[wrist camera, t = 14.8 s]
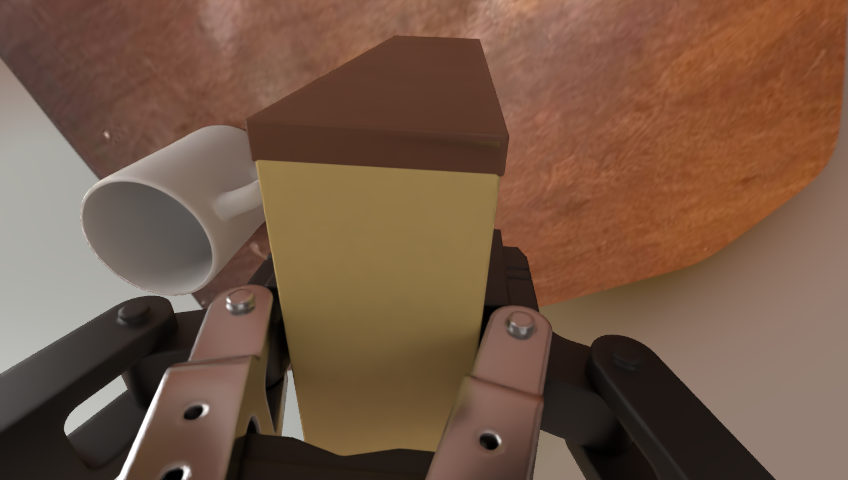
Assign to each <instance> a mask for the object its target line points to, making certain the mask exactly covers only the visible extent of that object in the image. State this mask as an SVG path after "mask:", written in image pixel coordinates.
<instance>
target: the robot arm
mask: <svg viewBox="0 0 848 480" xmlns="http://www.w3.org/2000/svg"><path fill="white" fill-rule="evenodd" d="M531 279H532V278H531V273H530V271H529V264H528V260H527V257H526V256H525V255H524V254H523V253H522V252H521V251H520V250H519V248H518V247H506V246H503V244H502V237H501V231H500V229H494V230H493V238H492V246H491V254H490V261H489V269H488V277H487V285H486V292H485V300H484V308H483V315H482V323H481V331H480V339H479V346H478V352H477V355H476V358H475V361H474V364H473V366H472V369H471V372H470V374H465V375H464V377H463V379H462V382H461V384H460V387H459V390H458V393H457V395H456V398H455V401H454V403H453V406H452V409H451V411H450V414H449V417H448V419H447V422H446V425H445V428H444V430H443V433H442V436H441V438H440V441H439V444H438V446H437V449H436V452H433V451H423V450H413V449H403V448H397V449H390V450H383V451H376V452H369V453H362V454H355V455H348V456H342V455H337V454H335V453H332V452H330V451H327V450H324V449H322V448H319V447H317V446H314V445H311V444H309V443H306V442H304V441H301V440H298V439H295V438H293V437H284V436H282V427H283V418H284V410H285V401H286V392H287V383H288V377H287V371H286V370H287V368H288V366H289V364H290V362H291V361H290V356H289V350H288V344H287V338H286V333H285V327H284V321H283V316H282V310H281V304H280V299H279V293H278V287H277V281H276V276H275V270H274V264H273V259H272V253H270V254H269V255H268V257H267V260H265V261H264V262H263V263H262V265H261V266H260V267H259V269H258V270H257V271H256V273H255V274H254V275H253V277H252V278H251V279H250V281H249V282H248V283H247V285H240V286H236V287H232V288H230V289H227V290H225V291H223V292H221V293H220V294H218V295H217V296H216V297H215V298H214V299H213V300H212V301H211V303H210V305H209V307H208V309H202V310H195V311H188V312H180V313H174V311H173V308H172V305H171V303H170V301H169V300H168V299H166V298H164V297H160V296H143V297H138V298H134V299H130V300H127V301H125V302H122V303H120V304H119V305H116V306H115V307H113V308H111V309H109V310H108V311H106V312H104V313H103V314H101V315H99V316H98V317H96V318H94V319H93V320H91V321H89V322H87V323H86V324H84V325H82V326H81V327H79V328H77V329H76V330H74V331H72V332H70V333H69V334H67V335H66V336H64V337H62V338H60V339H59V340H57V341H55V342H54V343H52V344H50V345H48V346H47V347H45V348H44V349H42V350H40V351H38V352H37V353H35V354H33V355H32V356H30V357H28V358H27V359H25V360H23V361H21V362H20V363H18V364H16V365H15V366H13V367H11V368H9V369H8V370H6V371H4V372H3V373H1V374H0V480H114V479H115V478H116V477H117V476H119V475H120V476H119V479H118V480H533V473H534V467H535V460H536V452H537V446H538V440H539V433H540V430H543V431H545V432H548V433H550V434H553V435H555V436H558V437H560V438H563V439H565V442H566V444H567V447H568V449H569V450H570V452H571V454H572V456H573V457H574V459H575V461H576V463H577V464H578V466H579V468H580V470H581V471H582V473H583V475H584V477H585V478H586V480H776V479H775V478H774V477H773V476H772V475H771V474H770V473H769V472H768V471H767V470H766V469H765V468H764V467H763V466H762V465H761V464H760V463H759V462H758V461H757V460H756V459H755V458H754V456H753V455H752V454H751V453H750V452H749V451H748V450H747V449H746V448H745V447H744V446H743V445H742V444H741V443H740V442H739V441H738V440H737V439H736V438H735V437H734V436H733V434H731V432H730V431H729V430H728V429H727V428H726V427H725V426H724V425H723V424H722V423H721V422H720V421H719V420H718V419H717V418H716V417H715V416H714V415H713V414H712V413H711V411H710V410H709V409H708V408H707V407H706V406H705V405H704V404H703V403H702V402H701V401H700V400H699V399H698V398H697V397H696V396H695V395H694V394H693V393H692V392H691V390H690V389H689V388H688V387H687V386H686V385H685V384H684V383H683V382H682V381H681V380H680V379H679V378H678V377H677V376H676V375H675V374H674V373H673V372H672V371H671V370H670V369H669V367H668V366H667V365H666V364H665V363H664V362H663V361H662V360H661V359H660V358H659V357H658V356H657V355H656V354H655V353H654V352H653V351H652V350H651V349H650V348H648V347H647V346H645V345H644V344H642V343H640V342H639V341H636V340H634V339H632V338H629V337H625V336H620V335H604V336H601V337H599V338H597V339H596V340H594V342H593V343H592V345H591V347H589V346H586V345H583V344H580V343H576V342H573V341H570V340H567V339H565V338H563V337H561V336H559V335H557V334H556V333H554V332H553V331H552V327H551V324H550V322H549V321H548V320H547V319H546V318H545V317H544V316H543V315H542V314H540V313H539V308H538V304H537V299H536V295H535V291H534V286H533V282H532V280H531ZM120 375H122V378H123V380H124V382H125V384H126V386H127V389H128V390H126V391H125V392H124V393H122V394H121V395H120V396H118V397H117V398H116V399H115V400H113V401H112V402H111V403H109V404H108V405H107V406H105V407H104V408H103V409H101V410H100V411H99V412H98V413H96V414H95V415H94V416H92V417H91V418H90V419H89V420H87V421H86V422H85V423H83V424H82V425H81V426H79V427H78V428H77V429H76V430H74V431H73V432H72V433H70V434H69V435H68V436H66V434H65V432H64V424H65V421H66V419H67V417H68V416H69V414H70V413H71V412H72V411H73V410H74V409H75V408H76V407H77V406H78V405H80V404H81V403H83V402H84V401H85V400H87V399H88V398H89V397H91V396H92V395H93V394H95V393H96V392H98V391H99V390H100V389H102V388H103V387H104V386H106V385H107V384H109V383H110V382H111V381H113V380H114V379H115V378H117V377H118V376H120Z"/></svg>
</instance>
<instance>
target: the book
mask: <svg viewBox="0 0 848 480" xmlns="http://www.w3.org/2000/svg"><path fill="white" fill-rule="evenodd" d="M245 126H246V132H247V137H248V143H249V148H250V154H251V159H252V161H254V162H256V167H257V173H258V179H259V185H260V190H261V196H262V202H263V207H264V213H265V219H266V224H267V230H268V236H269V242H270V247H271V253H272V259H273V264H274V270H275V276H276V281H277V287H278V293H279V299H280V304H281V310H282V316H283V321H284V327H285V333H286V338H287V344H288V350H289V356H290V361H291V367H292V373H293V378H294V384H295V390H296V396H297V401H298V407H299V413H300V418H301V424H302V430H303V435H304V441H305V442H306V443H309V444H311V445H314V446H317V447H319V448H322V449H324V450H327V451H330V452H332V453H335V454H337V455H342V456H348V455H355V454H362V453H369V452H376V451H383V450H390V449H397V448H403V449H413V450H423V451H433V452H436V449H437V446H438V444H439V441H440V438H441V436H442V433H443V430H444V428H445V425H446V422H447V419H448V417H449V414H450V411H451V409H452V406H453V403H454V401H455V398H456V395H457V393H458V390H459V387H460V384H461V382H462V379H463V377H464V375H465V374H470V372H471V369H472V366H473V364H474V361H475V358H476V355H477V352H478V346H479V339H480V331H481V323H482V315H483V308H484V300H485V292H486V285H487V277H488V269H489V261H490V254H491V246H492V238H493V230H494V223H495V215H496V207H497V200H498V192H499V184H500V177H501V176H503V175H504V172H505V164H506V157H507V149H508V142H509V134H508V131H507V127H506V124H505V121H504V118H503V114H502V111H501V108H500V105H499V101H498V98H497V95H496V91H495V88H494V85H493V82H492V78H491V75H490V72H489V68H488V65H487V62H486V59H485V55H484V52H483V49H482V46H481V42H480V39H464V38H441V37H417V36H393V37H392V38H390V39H388V40H386V41H385V42H383V43H381V44H379V45H377V46H376V47H374V48H372V49H370V50H369V51H367V52H365V53H363V54H361V55H360V56H358V57H356V58H354V59H352V60H351V61H349V62H347V63H345V64H344V65H342V66H340V67H338V68H336V69H335V70H333V71H331V72H329V73H328V74H326V75H324V76H322V77H320V78H319V79H317V80H315V81H313V82H311V83H310V84H308V85H306V86H304V87H303V88H301V89H299V90H297V91H295V92H294V93H292V94H290V95H288V96H287V97H285V98H283V99H281V100H279V101H278V102H276V103H274V104H272V105H271V106H269V107H267V108H265V109H263V110H262V111H260V112H258V113H256V114H254V115H253V116H251V117H249V118H247V119H246V120H245Z"/></svg>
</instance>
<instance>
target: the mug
mask: <svg viewBox="0 0 848 480" xmlns="http://www.w3.org/2000/svg"><path fill="white" fill-rule="evenodd" d="M80 221H81V226H82V230H83V233H84V236H85V238H86V240H87V242H88V244H89V246H90V247H91V249H92V251H93V252H94V253H95V254H96V256H97V257H98V258H99V259H100V261H101V262H102V263H103V264H104V265H105V266H106V267H107V268H108V269H110V270H111V271H112V272H113V273H114V274H116V275H117V276H118V277H120V278H121V279H123V280H124V281H126V282H128V283H130V284H132V285H133V286H136V287H138V288H140V289H142V290H146V291H148V292H152V293H156V294H161V295H171V296H172V295H173V296H177V295H185V294H190V293H193V292H195V291H197V290H199V289H201V288H203V287H204V286H205V285H207V284H208V283H209V282H210V281H211V280H212V279H213V278H214V277H215V276H216V275H217V274H218V273H219V271H220V270H221V269H222V268H223V267H224V266H225V265H226V264H227V262H228V261H229V260H230V259H231V258H232V257H233V256H234V255H235V253H236V252H237V251H238V250H239V249H240V248H241V247H242V246H243V244H244V243H245V242H246V241H247V240H248V239H249V238H250V237H251V236H252V234H253V233H254V232H255V231H256V230H257V229H258V228H259V227H260V226H261V225H262V224H263V223H264V222H265V221H266V219H265V213H264V207H263V202H262V196H261V190H260V185H259V179H258V173H257V167H256V162H254V161H252V159H251V154H250V148H249V143H248V137H247V132H246V131H244V130H241V129H239V128H236V127H232V126H226V125H213V126H207V127H204V128H201V129H199V130H197V131H195V132H193V133H191V134H189V135H187V136H185V137H184V138H182V139H180V140H178V141H177V142H175V143H173V144H171V145H169V146H167V147H165V148H163V149H161V150H159V151H157V152H155V153H153V154H151V155H149V156H147V157H145V158H143V159H141V160H139V161H137V162H135V163H133V164H131V165H130V166H128V167H126V168H124V169H122V170H120V171H118V172H116V173H114V174H112V175H110V176H108V177H106V178H104V179H102V180H100V181H99V182H98V183H96V184H95V185H94V186H92V187H91V188H90V190H89V191H88V192H87V193H86V195H85V197H84V199H83V201H82V204H81V209H80Z"/></svg>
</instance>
